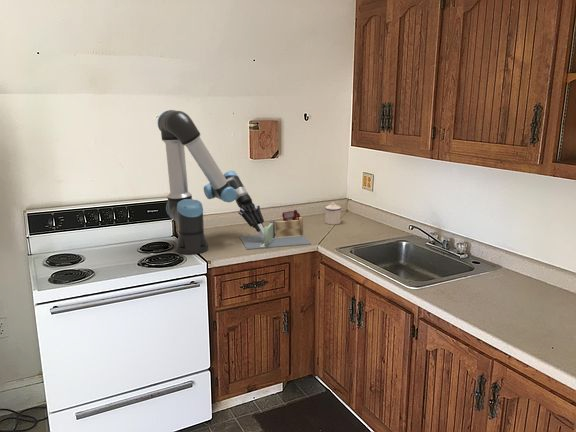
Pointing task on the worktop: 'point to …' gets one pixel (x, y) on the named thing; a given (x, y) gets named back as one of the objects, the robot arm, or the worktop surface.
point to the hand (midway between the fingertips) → (264, 236)
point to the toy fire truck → (290, 215)
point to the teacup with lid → (333, 214)
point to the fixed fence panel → (288, 228)
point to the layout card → (272, 241)
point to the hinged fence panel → (268, 234)
